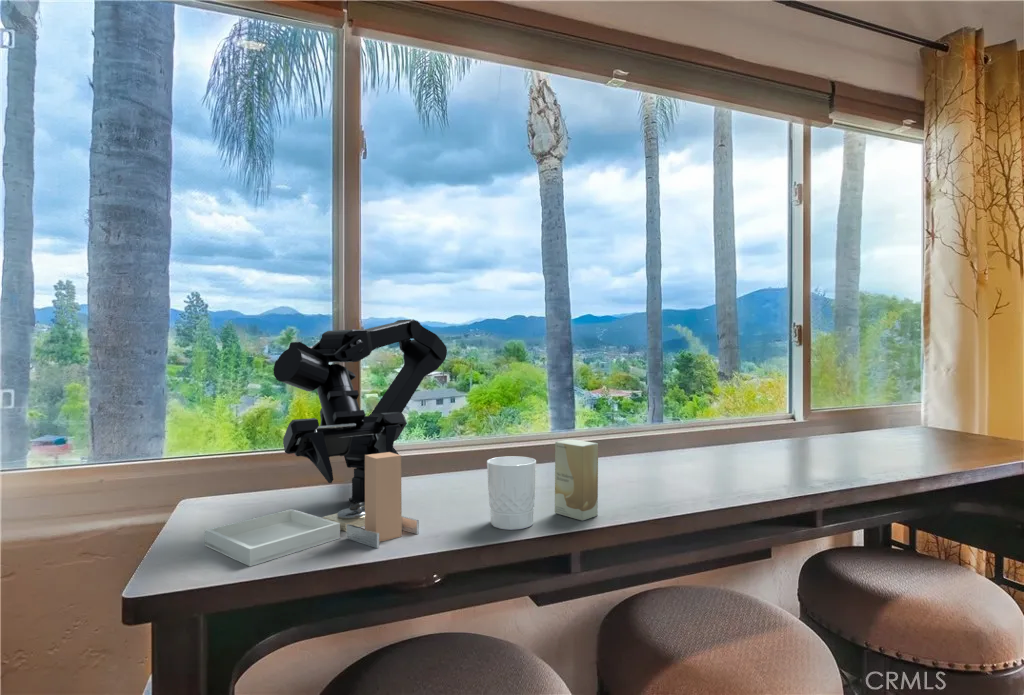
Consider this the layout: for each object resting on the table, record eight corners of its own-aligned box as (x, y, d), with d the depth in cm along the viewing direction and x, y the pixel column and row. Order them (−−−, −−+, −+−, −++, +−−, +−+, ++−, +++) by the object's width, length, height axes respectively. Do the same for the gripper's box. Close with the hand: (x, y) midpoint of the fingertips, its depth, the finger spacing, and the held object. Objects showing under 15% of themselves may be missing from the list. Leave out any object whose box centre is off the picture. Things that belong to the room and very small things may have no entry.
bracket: (359, 514, 89) (359, 494, 89) (424, 531, 80) (424, 509, 80) (312, 527, 82) (312, 506, 82) (376, 548, 73) (376, 524, 73)
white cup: (547, 523, 83) (546, 460, 83) (511, 535, 78) (510, 467, 78) (512, 513, 89) (511, 454, 89) (477, 523, 83) (476, 460, 84)
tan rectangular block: (364, 535, 78) (364, 455, 78) (389, 530, 81) (389, 452, 81) (376, 542, 75) (376, 458, 75) (401, 536, 77) (401, 455, 78)
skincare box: (553, 513, 88) (552, 441, 89) (570, 508, 91) (569, 438, 92) (584, 521, 84) (582, 445, 84) (600, 516, 87) (598, 442, 87)
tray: (291, 522, 85) (291, 508, 85) (340, 538, 77) (340, 523, 77) (204, 545, 74) (204, 530, 75) (250, 566, 66) (250, 549, 67)
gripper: (373, 419, 99) (397, 493, 91) (268, 428, 87) (285, 513, 79) (394, 383, 93) (422, 459, 85) (283, 387, 81) (303, 475, 73)
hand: (360, 477), depth 80 cm, fingers open, 9 cm apart
